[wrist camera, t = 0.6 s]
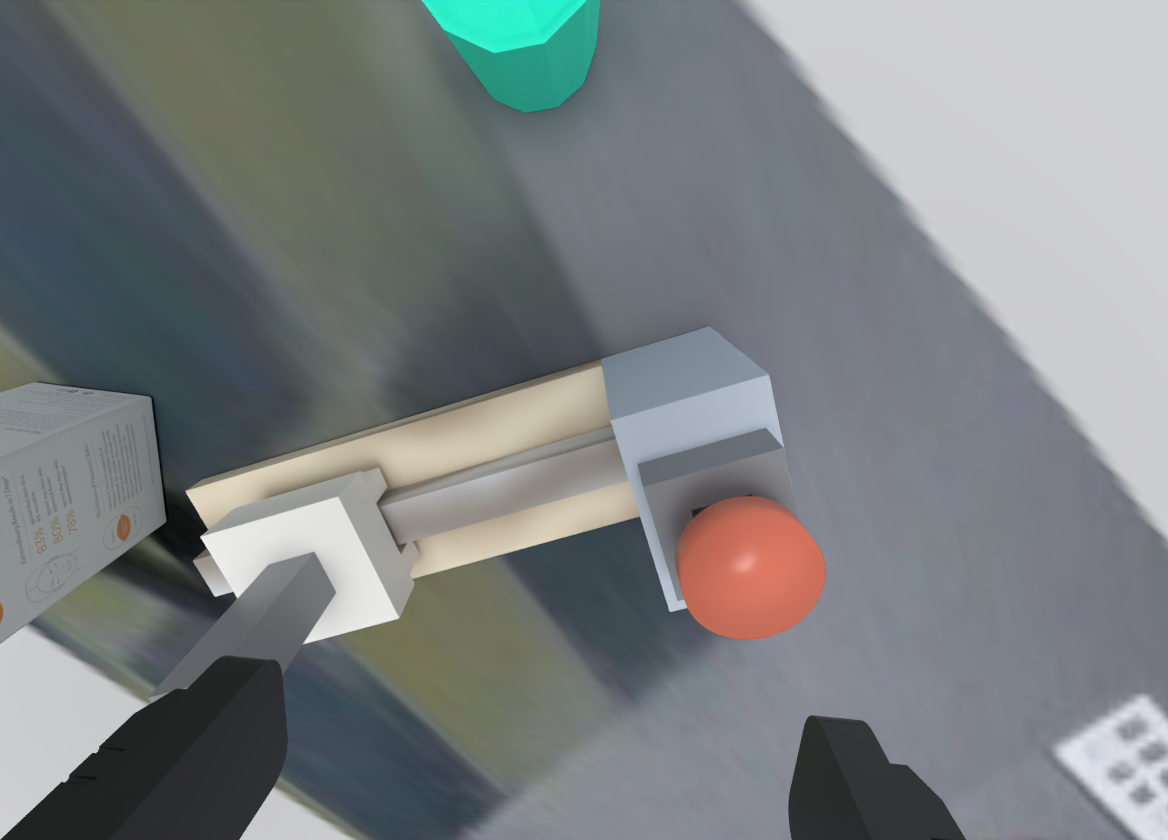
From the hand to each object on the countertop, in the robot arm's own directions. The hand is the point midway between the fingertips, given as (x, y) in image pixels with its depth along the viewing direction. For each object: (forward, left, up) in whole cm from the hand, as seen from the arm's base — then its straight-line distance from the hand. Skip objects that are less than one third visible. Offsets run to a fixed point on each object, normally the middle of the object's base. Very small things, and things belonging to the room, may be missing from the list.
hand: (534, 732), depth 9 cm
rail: (+5, -10, -23) cm, 26 cm away
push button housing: (+5, +5, -24) cm, 24 cm away
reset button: (+5, +5, -12) cm, 13 cm away
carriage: (+5, -15, -22) cm, 26 cm away
